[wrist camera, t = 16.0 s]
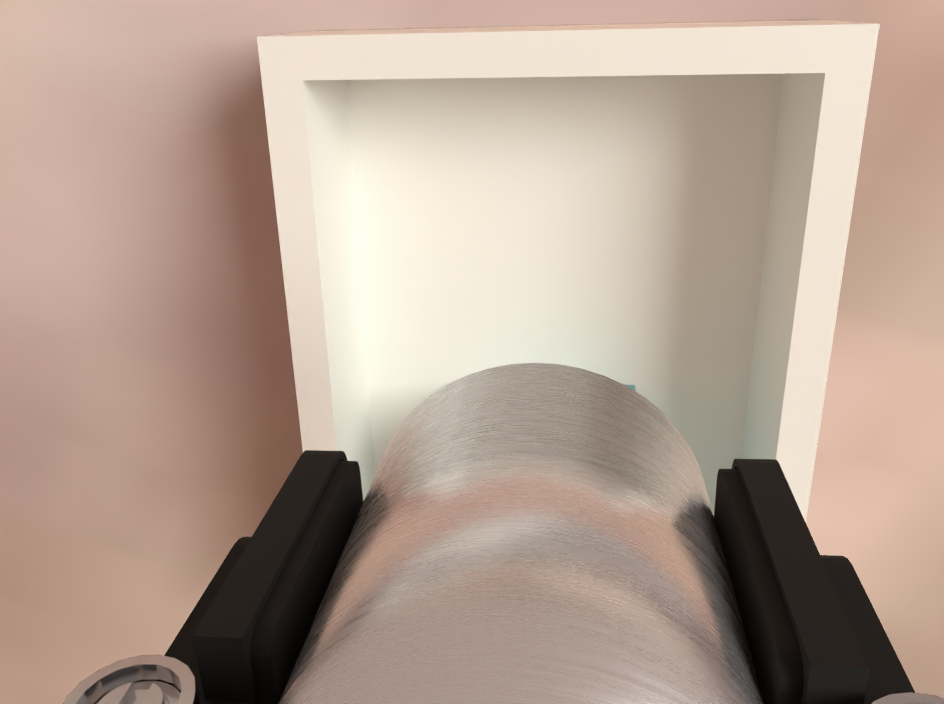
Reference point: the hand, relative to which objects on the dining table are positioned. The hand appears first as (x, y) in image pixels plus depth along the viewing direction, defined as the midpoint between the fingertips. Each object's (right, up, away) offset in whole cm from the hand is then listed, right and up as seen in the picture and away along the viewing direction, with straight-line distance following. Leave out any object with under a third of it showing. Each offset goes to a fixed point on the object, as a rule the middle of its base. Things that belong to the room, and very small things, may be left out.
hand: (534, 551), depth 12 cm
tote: (+2, +4, +15) cm, 16 cm away
